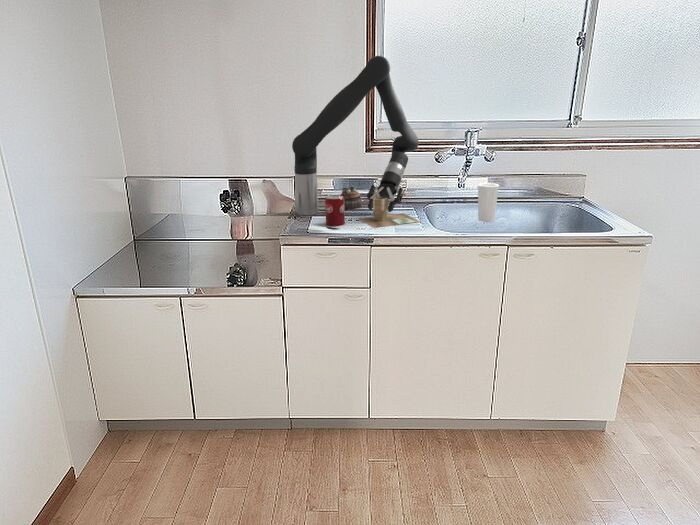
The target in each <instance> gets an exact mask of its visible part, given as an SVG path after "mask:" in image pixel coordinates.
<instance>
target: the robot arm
mask: <svg viewBox="0 0 700 525" xmlns="http://www.w3.org/2000/svg"><path fill="white" fill-rule="evenodd" d="M390 72H391V64H390V62H389V60H388V58H386V57H384V56H382V55H375V56H372V57H371V58H370V59H369V60H368V61H367V63H366V65H365V66H364V67H363V69H362V70H361V71H360V72H359V74H358V75H357V76H356V77H355V78H354V79H353V80H352V81H351V82H350V83H349V84H347V85H346V86H345V87H344V88H342V89H341V90H340V91H339V92H337V93H336V95H334V96H333V98H332V99H331V100H330V101H328V103H327V104H326V106H325V107H323V109H322V110H321V111H320V113H319V114H318V115H317V117H316V118H315V120H314V121H313V122H312V123H311V124H310V125H309V126H308V127H306V129H304V130H303V131H302V132H301V133H300V134H298V135H297V136H296V137H295V138H293V140H292V144H291V145H292V146H291V148H292V151H293V154H294V182H295V183H294V185H295V190H294V191H293V192H294V205H295V208H294V209H295V213H296V214H297V215H299V216H312V215H316V214H318V213H319V195H318V190H319V189H318V174H317V168H318V159H317V158H318V156H317V155H318V154H317V147H318V146H319V144H320V143H321V142H322V141H323V140H324V139H325V138H326V136H328V135H329V134H330V133H331V132H333V131H334V130H336V129H337V128H338V127H339V125H341V124H342V123H344V121H345V120H346V119H347V118H349V117H350V115H351V114H352V113H353V112H354V111H355V110H356V109H357V108H358V106H359V105H360V104H361V102H362V101H363V99H364V98H365V97H366V96H367V95H368V94H370V92H371V91H372V90H373V89H374V88H375V89H376V91H377V92H378V95H379V98H380V101H381V104H382V107H383V110H384V113H385V115H386V119H387V122H388V124H389V127H390V129H391V131H392V132H395V133H399V134H400V136H396V137H395V139H394V140H393V143H392V148H391V157H390V159H389V161H388V164H387V166H386V167H385V169H384V173H382V174H383V175H382V176H381V177H382V178H381V179H380V183H379V185H378V186H375V185H373V184H372V185H371V187H370V189H369V190H368V193H367V194H366V198H367V199H368V201H369V202H368V204H367V207H368V209H369V210H370V211H373V199H375V198H377V197H383V198H388V200H389V199H390V200H391V201H390V202H389V203H388V209H387V210H388V213H392V212H393V211H394V208H395V205H397V204H400V205H401V203H402V200H403V197H404V194H405V191H404V189H403V188H402V187H400V184H401V182H402V179H403V178H404V174H405V170H406V167H407V165H408V162H409V157H408V155H407V154H406V153H408V152H413V151H415V150H417V149H418V147H419V139H418V136H417V134H416V132H415V131H414V130H413V128H412V127H411V125H410V124H409V122H408V121H407V117H406V115H405V112H404V110H403V107H402V105H401V103H400V99H399V98H398V96H397V94H396V92H395V89H394V86H393V83H392V78H391V75H390ZM396 194H397V195H396ZM395 195H396V198H395Z"/></svg>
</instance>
